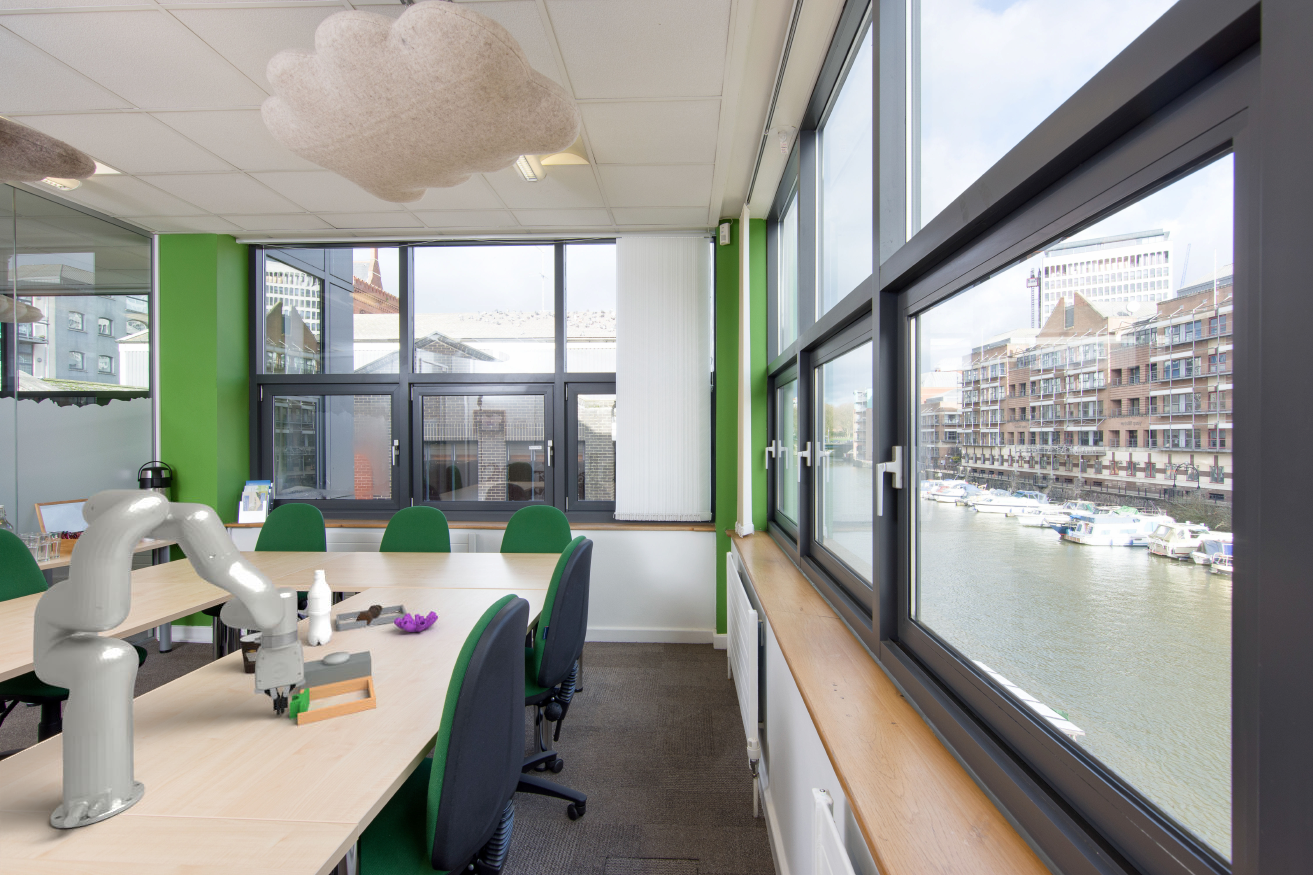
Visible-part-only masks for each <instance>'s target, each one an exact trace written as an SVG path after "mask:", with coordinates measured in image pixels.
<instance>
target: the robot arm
mask: <svg viewBox="0 0 1313 875" xmlns="http://www.w3.org/2000/svg"><path fill="white" fill-rule="evenodd" d="M81 514H82V518H83V520H84V521H85V523H86V524H87V525H88V526H87V527H86V528H85V530H83V531H82V533H81V534H80V535H79V537H78V538H77V539H76V542H75V544H74V546H73V549H72V551H71V553H70V554H71V555H70V560H69V561H70V562H69V571H68V579H65V580H61V581H59V582H58V583H57V582H56V583H55V584H54V585H52V586H50V587H49V588H48V589H47V590H46V591H44V593H43V594H42V595H41V597H40V598H39V600H38V602H37V604H36V606H35V609H34V610H35V611H34V616H33V636H32V637H33V638H32V639H33V641H32V643H33V644H32V645H33V647H32V648H33V650H32V656H33V657H32V660H33V664H32V665H33V669H34V672H35V675H36V677H37V678H38V679H39V680H40V681H41V682H43V683H45V684H47V685H50V686H52V687H53V686H54V687H58V688H64V689H66V690H69V694H68V697H67V701H66V703H65V707H64V710H63V714H62V724H61V728H62V729H61V730H62V731H61V732H62V803H61V804H60V805H58V807H57V808H55V809H54V810H53V812H52V813H51V815H50V824H51V826H53V827H55V828H58V829H71V828H78V827H83V826H87V825H91V824H95V823H97V822H100V821H103V820H106V819H109V818H110V817H111V818H112V817H113V816H115V815H117V814H120V813H121V812H123V811H125V810H127V809H128V808H131V807H132V806H133V805H135V803H137V802H138V801H139V800H141V799H142V797H143V796H144V794H145V784H144V783H143V782H141V781H138V780H134V779H135V778H134V777H135V776H134V775H135V774H134V773H135V772H134V771H135V770H134V769H135V766H134V764H135V762H134V760H135V759H134V758H135V756H134V694H135V692H134V691H135V685H136V679H137V674H138V671H139V664H140V658H139V653H138V652H137V649H136V648H135V647H134V646H133V645H132V644H130V643H129V642H128V641H125V640H123V639H120V638H116V637H109V636H102V635H99V633H103V632H107V631H111V630H113V629H116V628H117V627H120V625H122V624H123V623H124V622H125V621H126V619H127V618H128V616H129V613H130V611H131V605H132V564H133V557H134V552H135V551H136V548H137V546H138V545H139V544H140V542H141V541H142V540H143V539H149V540H156V541H157V540H159V541H167V542H168V541H169V542H176V543H177V544H178V546H179V548H180V549H181V550H182V552H183V554H184V555H185V557H186V559H188V561H189V563H190V564H191V567H193V569H194V571H195V573H196V574H197V576H199V578H201V579H203V580H204V581H206V582H207V583H209V584H211V585H212V586H215V587H218V588H220V589H222V590H224V591H225V592H227V593H229V594H231V595H233V596H234V597H233V598H230V599H229V600H228V601H226V603H225V604H223V606H221V607H222V608H221V610H220V614H219V618H220V620H221V622H222V623H223V624H224V625H225V626H227V627H229V628H233V629H240V630H252V631H256V632H257V631H259V632H262V635H260V637H258V638H255V640H254V642H255V643H258V644H259V643H260V644H261V646H260V647H259V648H258V651H257V656H256V666H255V673H254V691H253V694H256V695H258V694H262V695H263V694H265V695H266V696H268V697H270V698H271V699H272V707H273V709H272V711H274V712H276V716H278V715H279V716H280V714H285V710H286V709H288V708H289V694H291V692H292V691H293V690H294V689H296V688H298V687H301V686H300V685H303V684H305V682H306V680H305V676H304V663H305V656H304V649H303V643H302V641H301V639H298V638H299V637H298V636H299V635H298V634H299V633H298V627H299V626H298V591H297V590H296V589H295V588H292V587H290V586H289V587H288V586H286V587H276V585H275V584H274V583H273V581H272V580H271V579H270V578H269V577H268V576H267V575H266V574H265V573H264V572H263V571H261V570H260V569H259V568H258V567H257V566H255V564H253V563H252V562H251V561H249V560H248V559H247V558H245V557H244V556H243V554H241V551H239V548H238V547H237V546H236V544H235V543H234V541H233V539H232V537H231V536H230V534H229V532H228V530H227V528H226V527H225V525H224V523H223V521H222V520H221V518H220V517H219V515H218V514H217V511H215V510H214V508H212V507H211V506H210V505H207V504H204V503H198V502H197V503H196V502H173V501H169V499H168V498H167V497H166V496H165V495H164V494H162V493H161V492H158V491H155V490H149V489H132V488H131V489H120V488H119V489H105V490H102V491H98V492H96V493H94V494H93V495H91V496H89V498H88V499H87V500H86V501H85V502H84V504H83V505H82V509H81ZM281 687H283V691H282V692H281V693H280V692H279V690H278V688H281Z"/></svg>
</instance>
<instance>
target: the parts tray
mask: <svg viewBox="0 0 1313 875" xmlns="http://www.w3.org/2000/svg"><path fill="white" fill-rule="evenodd" d="M367 611H368V609H366V610H365V609H364V610H359V611H351V612H345V613H337V614H335V615H336V632H337V631H339V632H344V631H343V630H345V631H349V630H348V629H351V630H356V629H355V628H357V629H362V628H361V627H364V628H367V627H366V626H370V627H372V626H371V625H376V626H378V625H377V624H382V625H384V624H383V623H389V622H394V620H395V619H397V618H398V617H399V618H400V619H402V618H403V617H404V616H405V615H406V614H408V613H407V610H406V608H405V606H404V605H403V604H400V605H393V606H386V607H382V611H381V613H380V614H382V613H389V612H396V611H401V612H402V613H401V612H400V614H395V615H390V616H389V615H387V616H382V617H376V618H373V619H372V621H371V622H370V624H369V625H367V620H363V621H356V620H355V621H350V622H344V623H340V622H341V621H340V620H344V621H347V620H346V619H350V618H357V617H358V615H359V614H360V612H367ZM350 620H351V619H350ZM389 624H390V623H389Z"/></svg>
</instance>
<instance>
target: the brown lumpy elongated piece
mask: <svg viewBox="0 0 1313 875" xmlns="http://www.w3.org/2000/svg"><path fill="white" fill-rule="evenodd" d="M382 608H383V606H382V605H381V604H376V605H375V604H374V605H370V606H369V608H368V609H367V610H368V611H367V612H360V614H359V615H358V617H357V619H355V621H363V620H367V625H369V624H370V622H371V621H372V619H375V618H379V616H381V615H380V613H381V611H382Z"/></svg>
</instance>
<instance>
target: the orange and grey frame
mask: <svg viewBox="0 0 1313 875" xmlns="http://www.w3.org/2000/svg"><path fill="white" fill-rule="evenodd" d="M304 676H305V680H306V682H305V684H303V685H300V686H299V687H300V692H299V694H301V693H304V690H305V689H307V688H309V693H310V701H315V700H320V699H324V698H330V697H335V696H339V695H344V694H349V693H353V692H358V691H364V690H368V696H369V697H367V698H362V699H357V700H354V701H348V702H344V703H339V704H335V705H331V706H326V707H320V708H318V709H316V708H315V709H313V710H312V709H311V710H308V711H307V712H302V713H298V718H297V726H301V725H306V724H310V723H315V722H319V721H323V720H328V719H332V718H337V717H342V716H345V715H350V714H354V713H359V712H364V711H368V710H373V709H376V708H377V700H376V699H377V698H376V697H377V696H376V691H375V687H374V686H375V685H374V683H373V676H372V657H371V652H370V650H367V651H361V652H357V653H356V652H355V653H350V652H348V651H338V652H337V651H336V652H332V653H330V654H329V653H328V654H326V655H325V656H324V657H323V658H322V659H317V660H312V661H311V660H310V661H304Z"/></svg>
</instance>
